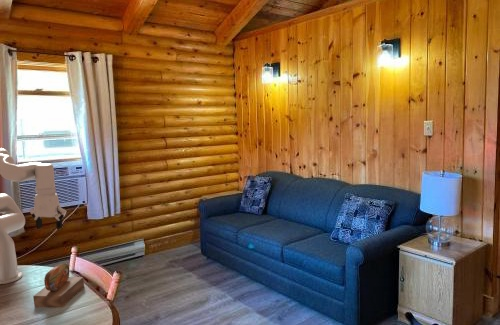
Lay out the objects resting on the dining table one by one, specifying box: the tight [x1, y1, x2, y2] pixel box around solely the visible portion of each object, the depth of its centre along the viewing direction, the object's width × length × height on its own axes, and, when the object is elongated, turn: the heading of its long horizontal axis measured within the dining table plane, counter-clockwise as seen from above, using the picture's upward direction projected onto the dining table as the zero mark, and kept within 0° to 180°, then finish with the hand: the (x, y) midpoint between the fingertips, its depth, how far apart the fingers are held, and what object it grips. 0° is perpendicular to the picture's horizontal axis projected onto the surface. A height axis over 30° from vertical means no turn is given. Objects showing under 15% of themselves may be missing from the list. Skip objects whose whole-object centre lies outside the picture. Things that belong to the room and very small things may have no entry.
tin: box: [43, 263, 70, 291], centre depth 173 cm, size 15×3×8 cm, turn 174°
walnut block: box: [32, 276, 85, 309], centre depth 174 cm, size 12×18×5 cm, turn 174°
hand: (49, 228), depth 183 cm, fingers open, 9 cm apart
